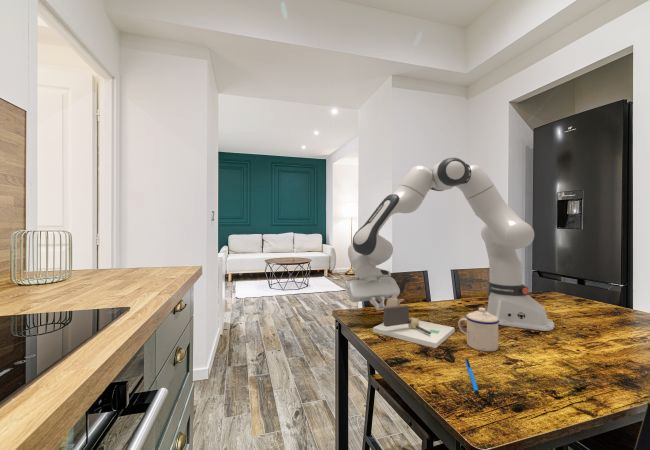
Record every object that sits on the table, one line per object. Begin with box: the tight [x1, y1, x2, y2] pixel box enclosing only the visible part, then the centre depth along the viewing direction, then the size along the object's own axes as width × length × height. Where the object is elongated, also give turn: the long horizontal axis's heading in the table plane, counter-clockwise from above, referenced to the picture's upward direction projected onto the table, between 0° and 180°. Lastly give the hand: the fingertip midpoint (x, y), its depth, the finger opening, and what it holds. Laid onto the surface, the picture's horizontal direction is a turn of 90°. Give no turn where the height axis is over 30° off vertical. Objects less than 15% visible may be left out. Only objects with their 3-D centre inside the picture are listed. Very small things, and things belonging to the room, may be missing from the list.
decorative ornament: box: [385, 297, 405, 307], centre depth 136 cm, size 4×8×5 cm, turn 43°
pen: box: [464, 358, 480, 397], centre depth 76 cm, size 1×19×1 cm, turn 162°
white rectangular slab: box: [372, 319, 456, 349], centre depth 107 cm, size 22×18×2 cm
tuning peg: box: [383, 304, 431, 334], centre depth 102 cm, size 13×10×8 cm
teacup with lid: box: [458, 307, 499, 352], centre depth 96 cm, size 12×9×12 cm
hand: (381, 309), depth 110 cm, fingers closed
